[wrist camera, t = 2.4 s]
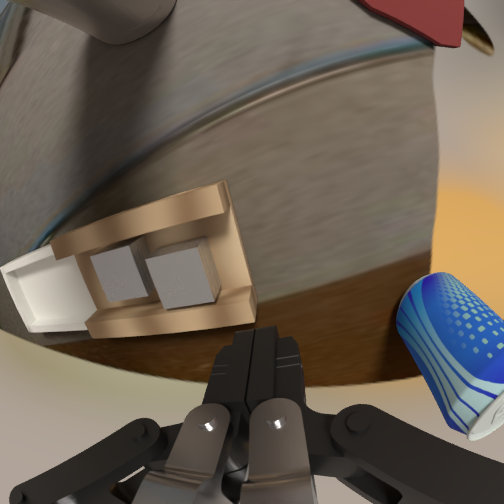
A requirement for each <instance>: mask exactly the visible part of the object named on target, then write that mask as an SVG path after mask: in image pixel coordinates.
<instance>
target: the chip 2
mask: <svg viewBox="0 0 504 504" xmlns="http://www.w3.org/2000/svg"><path fill="white" fill-rule="evenodd" d="M145 261H146V264H147V266H148V269H149V272H150V274H151V277H152V280H153V282H154V285H155V287H156V290H157V292H158V295H159V297H160V300H161V302H162V304H163V307H164V309H169V308H176V307H182V306H189V305H195V304H202V303H208V302H214V301H215V299H216V297H217V294H218V292H219V289H220V287H221V282H220V278H219V275H218V272H217V269H216V266H215V262H214V259H213V256H212V253H211V249H210V246H209V243H208V239H207V236H203V237H199V238H195V239H191V240H187V241H182V242H178V243H174V244H170V245H166V246H162V247H159V248H158V249H156V250H155V251H154V252H153V253H152V254H151V255H149V256H148V257H147V258H146V259H145Z"/></svg>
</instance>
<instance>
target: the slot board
mask: <svg viewBox="0 0 504 504" xmlns="http://www.w3.org/2000/svg"><path fill="white" fill-rule="evenodd" d="M142 235H145V237H146V240H147V243H148V246H149V249H150V252H151V254H152V253H153V252H154V251H155V250H156V249H158V248H159V247H162V246H166V245H170V244H174V243H178V242H182V241H187V240H191V239H195V238H199V237H203V236H207V239H208V243H209V246H210V249H211V253H212V256H213V259H214V262H215V266H216V269H217V272H218V275H219V278H220V282H221V287H220V289H219V292H218V294H217V297H216V299H215V301H214V302H208V303H202V304H195V305H189V306H182V307H176V308H169V309H164V307H163V304H162V302H161V300H160V297H159V295H158V292H157V290H156V287H155V289H154V290H153V291H152V292H151V293H150V295H149V296H146V297H140V298H133V299H127V300H121V301H114V302H109V301H108V299H107V297H106V295H105V292H104V290H103V288H102V286H101V283H100V281H99V278H98V276H97V274H96V271H95V269H94V266H93V263H92V261H91V258H90V256H92V255H93V254H95V253H96V252H98V251H99V250H101V249H103V248H104V247H106V246H108V245H111V244H114V243H118V242H121V241H125V240H128V239H131V238H135V237H138V236H142ZM50 245H51V248H52V250H53V253H54V256H55V258H56V261H57V260H60V259H63V258H66V257H69V256H72V255H74V256H75V259H76V262H77V264H78V267H79V269H80V272H81V274H82V277H83V279H84V281H85V284H86V286H87V288H88V291H89V293H90V295H91V297H92V300H93V302H94V304H95V306H96V308H97V310H96V311H95V312H94V313H93V314H92V315H91V316H90V317H89V318H88V319H87V320H86V321H85V325H86V327H87V329H88V331H89V333H90V335H91V336H92V338H93V339H95V338H116V337H131V336H145V335H156V334H167V333H177V332H186V331H195V330H203V329H211V328H219V327H226V326H233V325H240V324H246V323H253V322H255V318H256V310H257V301H258V297H257V293H256V289H255V286H254V282H253V278H252V274H251V271H250V267H249V263H248V259H247V256H246V252H245V248H244V244H243V241H242V237H241V233H240V229H239V226H238V222H237V218H236V214H235V211H234V207H233V203H232V199H231V195H230V192H229V188H228V184H227V180H225V181H221V182H217V183H214V184H210V185H206V186H203V187H199V188H196V189H192V190H189V191H185V192H182V193H178V194H175V195H172V196H168V197H165V198H162V199H159V200H156V201H153V202H149V203H146V204H143V205H140V206H137V207H134V208H131V209H128V210H126V211H123V212H120V213H117V214H114V215H111V216H109V217H106V218H103V219H101V220H98V221H95V222H93V223H90V224H87V225H85V226H82V227H80V228H77V229H75V230H72V231H70V232H68V233H66V234H64V235H62V236H60V237H58V238H56V239H54V240H52V241H50Z"/></svg>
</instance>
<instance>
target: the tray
mask: <svg viewBox="0 0 504 504" xmlns="http://www.w3.org/2000/svg"><path fill="white" fill-rule="evenodd" d="M0 269H1V272H2V275H3V277H4V280H5V282H6V285H7V287H8V289H9V292H10V294H11V296H12V298H13V301H14V303H15V305H16V307H17V309H18V311H19V313H20V315H21V317H22V319H23V321H24V323H25V325H26V327H27V329H28V331H29V332H58V331H78V330H88V329H87V327H86V325H85V321H86V320H87V319H88V318H89V317H90V316H91V315H92V314H93V313H94V312H95V311H96V310H97V308H96V306H95V304H94V302H93V300H92V297H91V295H90V293H89V291H88V288H87V286H86V284H85V281H84V279H83V277H82V274H81V272H80V269H79V267H78V264H77V262H76V259H75V256H74V255H72V256H69V257H66V258H63V259H60V260H57V261H56V258H55V256H54V253H53V250H52V248H51V245H50V244H49V245H46V246H44V247H42V248H39V249H37V250H35V251H32V252H30V253H28V254H26V255H23V256H21V257H19V258H17V259H15V260H13V261H11V262H9V263H7V264H6V265H4V266H2V267H0Z"/></svg>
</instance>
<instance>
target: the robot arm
mask: <svg viewBox="0 0 504 504" xmlns="http://www.w3.org/2000/svg"><path fill="white" fill-rule="evenodd" d="M8 1H11V2H14V3H17V4H20V5H23V6H26V7H28V8H31V9H34V10H36V11H39V12H41V13H44V14H46V15H49V16H51V17H53V18H56V19H58V20H60V21H63V22H65V23H67V24H69V25H71V26H73V27H76V28H78V29H80V30H82V31H83V32H85V33H87V34H89V35H91V36H93V37H95V38H97V39H99V40H101V41H103V42H105V43H108V44H113V45H119V44H125V43H129V42H131V41H134V40H137V39H139V38H141V37H143V36H145V35H146V34H148V33H149V32H151V31H152V30H153V29H155V28H156V27H157V26H158V25H159V24H161V23H162V21H163V20H164V19H165V18H166V17H167V16H168V15H169V13H170V12H171V10H172V9H173V7H174V4H175V2H176V0H8ZM213 366H214V367H213V368H212V372H211V375H210V378H209V382H208V385H207V389H206V392H205V395H204V399H203V402H202V405H200V406H198V407H196V408H194V409H193V410H192V411H190V412H189V414H188V415H187V416H186V418H185V420H184V422H183V423H180V424H175V425H171V426H167V427H161V428H160V426H159V425H158V424H157V423H156V422H155V421H154V420H152V419H149V418H140V419H136V420H134V421H132V422H130V423H128V424H127V425H125V426H124V427H122V428H121V429H119V430H118V431H116V432H114V433H113V434H111V435H110V436H108V437H106V438H105V439H103V440H101V441H100V442H98V443H96V444H95V445H93V446H91V447H90V448H88V449H86V450H85V451H83V452H81V453H79V454H78V455H76V456H74V457H72V458H70V459H69V460H67V461H65V462H63V463H61V464H60V465H58V466H56V467H54V468H52V469H50V470H48V471H46V472H44V473H42V474H40V475H38V476H36V477H34V478H32V479H30V480H28V481H26V482H24V483H21V484H19V485H18V486H16V487H14V488H13V490H12V491H11V493H10V497H9V502H10V504H318V500H317V494H316V488H315V487H316V486H315V480H314V475H321V476H329V477H336V478H337V479H338V480H339V481H340V482H342V483H343V484H345V485H346V486H347V487H349V488H350V489H352V490H353V491H355V492H356V493H358V494H359V495H361V496H362V497H364V498H365V499H367V500H368V501H370V502H371V503H373V504H504V463H501V462H498V461H495V460H492V459H490V458H487V457H484V456H481V455H479V454H476V453H474V452H471V451H468V450H466V449H463V448H461V447H458V446H456V445H454V444H451V443H449V442H447V441H444V440H442V439H440V438H437V437H435V436H433V435H431V434H429V433H427V432H424V431H422V430H420V429H418V428H416V427H414V426H412V425H410V424H407V423H406V422H404V421H402V420H400V419H398V418H396V417H394V416H392V415H390V414H388V413H386V412H384V411H382V410H380V409H378V408H376V407H374V406H372V405H367V404H357V405H352V406H349V407H347V408H345V409H343V410H341V411H340V412H339V413H338V414H337V415H333V414H332V415H331V414H322V413H318V412H315V411H313V410H311V409H310V408H308V407H307V406H306V398H305V397H306V395H305V384H304V373H303V368H302V363H301V357H300V352H299V347H298V344H297V342H296V341H295V340H294V339H293V338H292V336H290V337H284V338H279V334H278V330H277V327H276V325H275V326H269V327H263V328H256V329H250V330H244V331H237V332H235V335H234V340H233V344H232V345H229V346H224V347H223V348H222V349H221V350H220V352H219V353H218V354H217V355H216V358H215V362H214V365H213ZM142 466H144V467H145V469H143V470H142V471H140V472H139V473H137V474H135V475H134V476H132V477H131V478H129V479H128V480H126V481H124V482H119V481H120V480H122V479H124V478H125V477H127V476H128V475H130V474H132V473H133V472H135V471H136V470H138V469H139V468H141V467H142Z"/></svg>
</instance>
